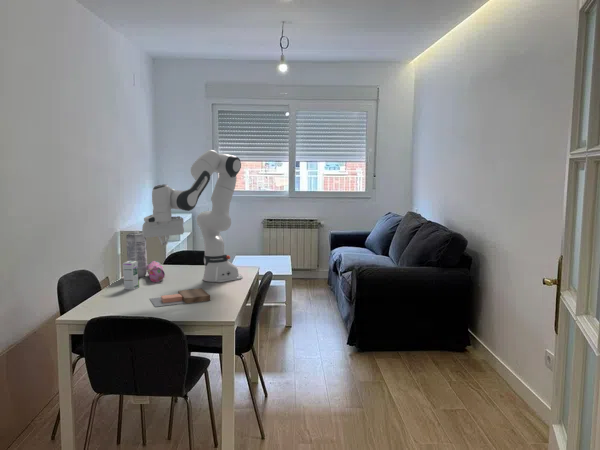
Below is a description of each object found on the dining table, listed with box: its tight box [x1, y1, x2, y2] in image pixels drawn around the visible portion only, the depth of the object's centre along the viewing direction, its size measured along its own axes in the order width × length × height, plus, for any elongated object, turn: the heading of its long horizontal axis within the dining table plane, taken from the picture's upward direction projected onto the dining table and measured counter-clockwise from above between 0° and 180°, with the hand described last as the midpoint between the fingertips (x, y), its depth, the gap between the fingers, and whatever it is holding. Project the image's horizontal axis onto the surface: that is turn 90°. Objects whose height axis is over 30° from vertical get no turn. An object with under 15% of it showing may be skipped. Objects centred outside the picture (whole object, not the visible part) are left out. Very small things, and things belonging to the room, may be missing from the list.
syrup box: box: [122, 261, 140, 291], centre depth 276 cm, size 6×6×14 cm
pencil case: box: [147, 260, 166, 283], centre depth 300 cm, size 21×9×9 cm, turn 18°
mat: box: [149, 296, 186, 308], centre depth 250 cm, size 14×16×1 cm
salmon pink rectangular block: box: [160, 293, 183, 303], centre depth 250 cm, size 9×6×2 cm, turn 115°
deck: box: [177, 287, 211, 304], centre depth 255 cm, size 12×16×2 cm
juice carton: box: [126, 230, 148, 278], centre depth 306 cm, size 9×10×27 cm
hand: (164, 244), depth 260 cm, fingers closed
